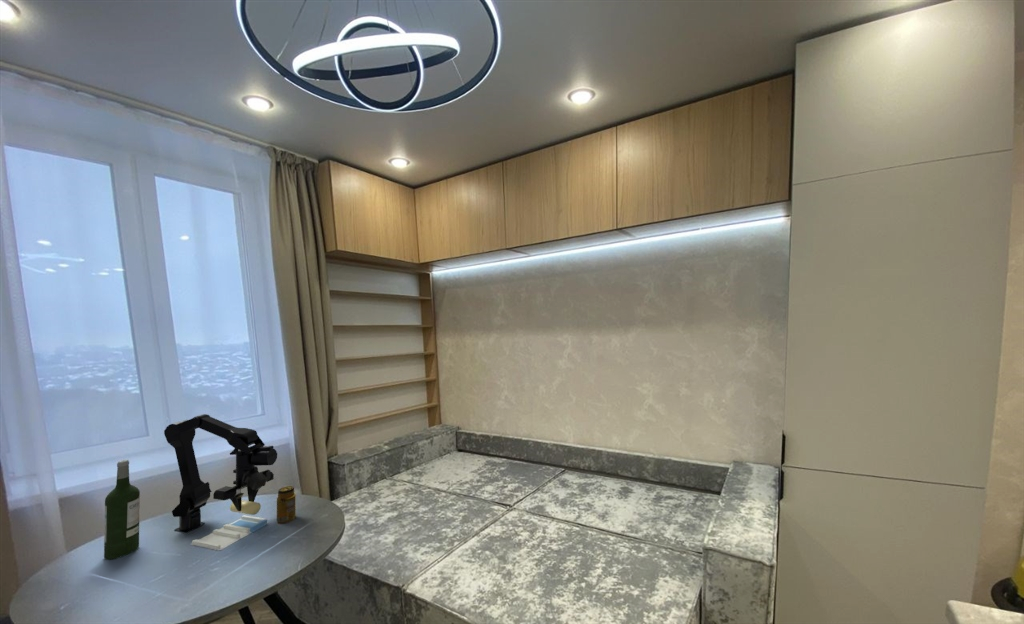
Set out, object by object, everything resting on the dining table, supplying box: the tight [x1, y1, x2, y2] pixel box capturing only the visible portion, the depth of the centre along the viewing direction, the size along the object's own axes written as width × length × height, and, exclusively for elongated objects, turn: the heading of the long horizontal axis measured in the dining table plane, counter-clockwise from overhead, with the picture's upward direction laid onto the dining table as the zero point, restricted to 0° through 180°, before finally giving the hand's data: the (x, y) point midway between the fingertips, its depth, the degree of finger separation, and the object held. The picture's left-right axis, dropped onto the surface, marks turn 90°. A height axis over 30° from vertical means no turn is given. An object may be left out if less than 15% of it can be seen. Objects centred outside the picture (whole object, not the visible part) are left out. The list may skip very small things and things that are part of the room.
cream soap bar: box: [229, 499, 262, 516], centre depth 135 cm, size 10×4×4 cm, turn 73°
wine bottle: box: [103, 459, 141, 561], centre depth 121 cm, size 8×8×30 cm
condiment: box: [276, 485, 297, 525], centre depth 137 cm, size 7×8×12 cm
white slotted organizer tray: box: [190, 514, 270, 551], centre depth 130 cm, size 14×18×2 cm
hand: (245, 508), depth 135 cm, fingers closed on cream soap bar, 4 cm apart
